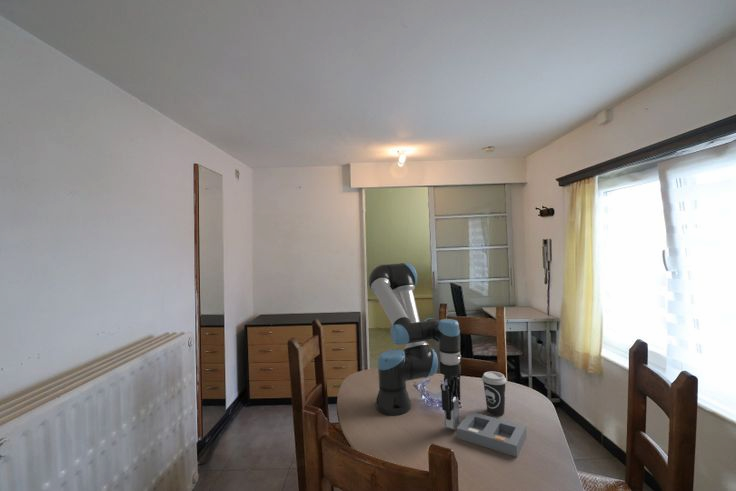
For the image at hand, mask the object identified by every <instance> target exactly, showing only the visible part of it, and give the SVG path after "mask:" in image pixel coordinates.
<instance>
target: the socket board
mask: <svg viewBox="0 0 736 491" xmlns="http://www.w3.org/2000/svg"><path fill="white" fill-rule="evenodd" d="M527 434H528V433H527V425H524V424H520V423H516V422H512V421H509V420H504V419H500V418H498V417H497V418H496V417H493V416H489V415H485V414H481V413H478V412H473V411H469V413H468V414H467V415H466V416H465V418H464V419H463V420H462V421H461V422H460V423H459V425H458V426H457V428H456V437H457V439H459V440H462V441H464V442H468V443H471V444H475V445H477V446H481V447H483V448H488V449H491V450H494V451H497V452H500V453H502V454H506V455H509V456H512V457H515V458H518V457H519V454H520V452H521V451H522V447H523V445H524V443H525V440H526V439H527Z"/></svg>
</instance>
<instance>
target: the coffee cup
mask: <svg viewBox="0 0 736 491" xmlns="http://www.w3.org/2000/svg"><path fill="white" fill-rule="evenodd" d="M481 377H482V378H481V381H482V382H483V388H484V396H485V405H486V411H487V413H488V414H489V415H492V416H497V417H499V416H500V417H501V416H504V415H505V405H506V383H507V378H506V377H505V374H503V373H501V372H499V371H491V370H490V371H486V372H484V373H483V375H482V376H481Z"/></svg>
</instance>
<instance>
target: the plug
mask: <svg viewBox="0 0 736 491" xmlns="http://www.w3.org/2000/svg"><path fill="white" fill-rule="evenodd" d="M459 402H460V400H459V398H458V397H456V396H454V395H453V396H452V410H453V420H454V428H453V429H452V430H457V427H458V426H459V425H460V406H459V405H460V404H459ZM443 411H444V410H443ZM444 426H445V427H446V412H445V411H444Z"/></svg>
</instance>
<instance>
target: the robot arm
mask: <svg viewBox="0 0 736 491" xmlns="http://www.w3.org/2000/svg"><path fill="white" fill-rule="evenodd" d="M417 283H418V274H417V271H416V268H415V267H414V266H413V265H412V264H410V263H409V262H407V263H404V262H401V263H389V264H388V263H387V264H380V265H378V266H376V267H374V268H373V269H372V270H371V272H370V274H369V277H368V286H369V289H370V291H371V293H372V294H374V295H375V296H376V297H377V300H378V302H379V304H380V306H381V307H382V309H383V311H384V313H385V315H386V318H387V319H388V320H389V323H390V324H391V327H390V337H391V341H392V343H393V344H395V345H396V346H398V345H399V346H401V345H405V347H403V350H402V349H389V350H386V351H384V352H382V353H381V354H380V355H378V358H377V369H378V371H377V372H378V389H379V390H378V394H377V396H376V399H375V400H376V401H375V408H376V410H377V411H378V412H379V413H381V414H383V415H387V416H398V415H403V414H406V413H408V412H410V411H411V408H412V402H411V401H412V400H411V399H410V396H409V393H408V390H407V381H413V380H418V379H425V378H428V377H433V376H434V375H436V373H437V371H438V366H439V372H440V373H441V374H442V375H443V383H441V384H440V390H441V391H440V392H441V409H442V411H445V412H446V426H445V427H447V428H449V429H452V430H454V429H453V428H454V420H453V410H452V396H453V395H454V396H456V397H458V398H459V405H461V373H462V367H461V366H462V365H461V358H462V355H461V340H460V339H461V335H460V334H461V330H460V323H459V322H458V320H456V319H451V318H444V319H440V320H438V319H435V318H432V317H428V318H426V319H424V320H423V321H421V320H420V316H419V312H418V308H417V303H416V299H415V298H416V297H415V295H414V290H416V289H415V288H416V285H417ZM427 341H436V342H437V343H438V345H439V346H438V347H439V351H438V352H439V358H438V355H437V352H436V350H435V349H433V348H431V347H430V344H429V343H428V342H427ZM439 361H440V363H439ZM445 412H444V413H445Z"/></svg>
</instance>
